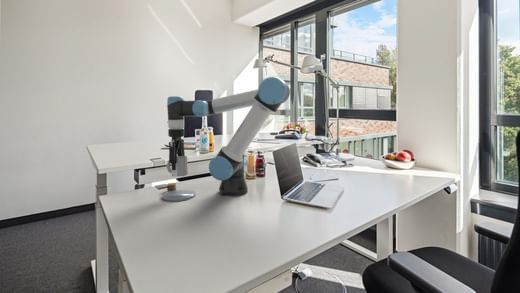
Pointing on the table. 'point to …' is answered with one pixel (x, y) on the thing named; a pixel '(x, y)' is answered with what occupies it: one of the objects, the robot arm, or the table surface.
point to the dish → (178, 195)
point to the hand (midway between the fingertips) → (177, 174)
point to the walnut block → (171, 187)
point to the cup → (180, 166)
